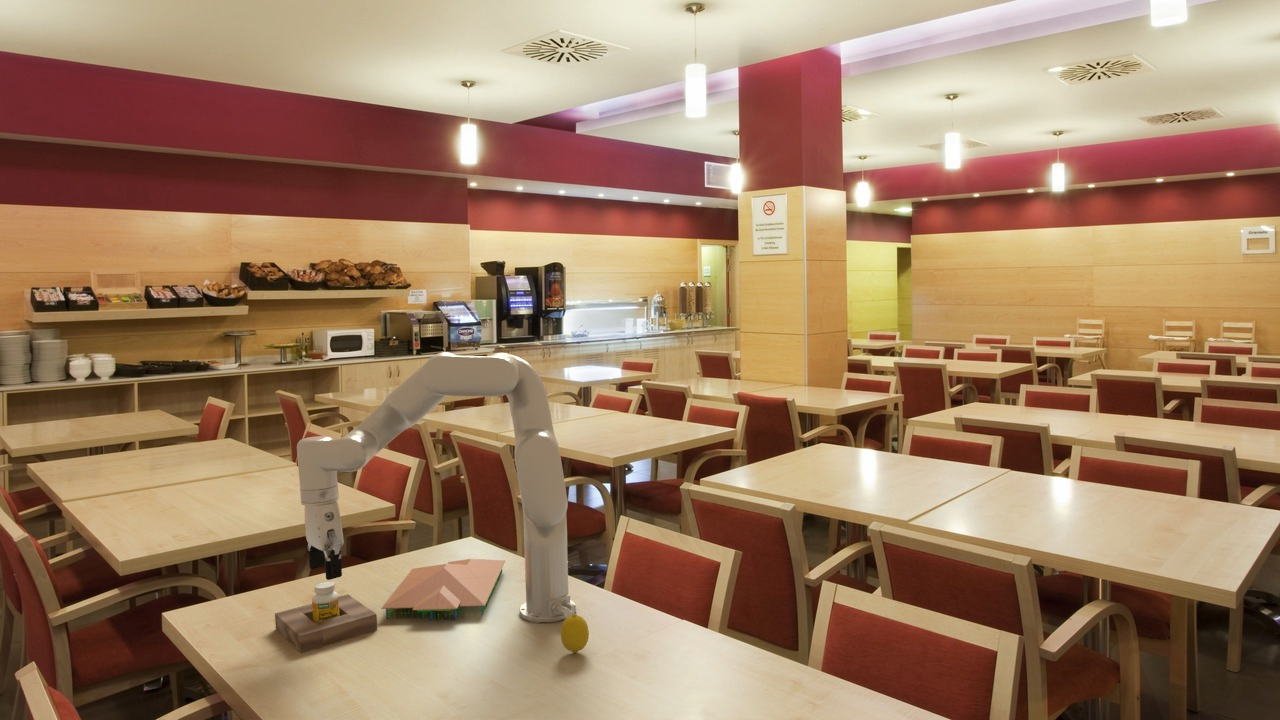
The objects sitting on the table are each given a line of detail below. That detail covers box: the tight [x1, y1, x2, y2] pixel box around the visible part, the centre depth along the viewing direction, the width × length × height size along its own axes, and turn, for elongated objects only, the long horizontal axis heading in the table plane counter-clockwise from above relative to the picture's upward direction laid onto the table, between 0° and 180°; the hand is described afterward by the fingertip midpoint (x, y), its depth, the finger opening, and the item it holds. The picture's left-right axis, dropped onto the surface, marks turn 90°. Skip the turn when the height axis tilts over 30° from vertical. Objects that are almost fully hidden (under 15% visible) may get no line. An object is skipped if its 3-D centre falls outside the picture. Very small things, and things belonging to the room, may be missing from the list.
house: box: [380, 558, 506, 621], centre depth 190 cm, size 23×33×8 cm
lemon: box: [560, 613, 590, 654], centre depth 158 cm, size 6×6×8 cm
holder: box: [274, 593, 378, 653], centre depth 172 cm, size 16×16×4 cm
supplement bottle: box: [311, 581, 340, 623], centre depth 172 cm, size 5×5×10 cm
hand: (325, 572), depth 171 cm, fingers open, 9 cm apart
